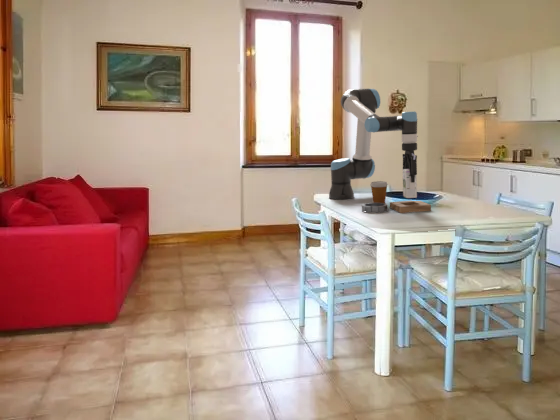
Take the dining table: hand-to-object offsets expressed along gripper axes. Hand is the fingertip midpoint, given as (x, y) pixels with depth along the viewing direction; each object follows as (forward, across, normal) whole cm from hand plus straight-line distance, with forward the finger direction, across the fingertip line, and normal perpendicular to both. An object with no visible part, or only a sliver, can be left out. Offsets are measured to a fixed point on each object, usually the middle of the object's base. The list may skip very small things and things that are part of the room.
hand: (409, 187), depth 263 cm
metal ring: (+11, +4, +18) cm, 21 cm away
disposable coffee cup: (+11, +22, +9) cm, 26 cm away
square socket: (+11, 0, 0) cm, 11 cm away
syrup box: (+5, 0, 0) cm, 5 cm away
